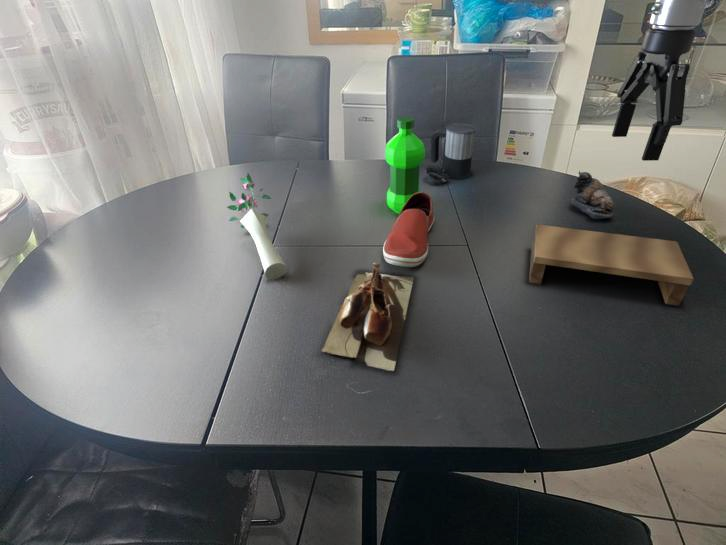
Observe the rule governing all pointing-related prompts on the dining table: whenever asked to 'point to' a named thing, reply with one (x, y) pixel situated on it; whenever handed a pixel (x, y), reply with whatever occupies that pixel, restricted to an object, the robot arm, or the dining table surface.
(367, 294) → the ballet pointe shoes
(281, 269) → the flower vase
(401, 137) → the plastic bottle
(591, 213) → the bison figurine
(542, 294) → the dining table surface
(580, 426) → the dining table surface
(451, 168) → the milk frother
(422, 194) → the slip on shoe
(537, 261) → the oak shelf
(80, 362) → the dining table surface
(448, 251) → the dining table surface
